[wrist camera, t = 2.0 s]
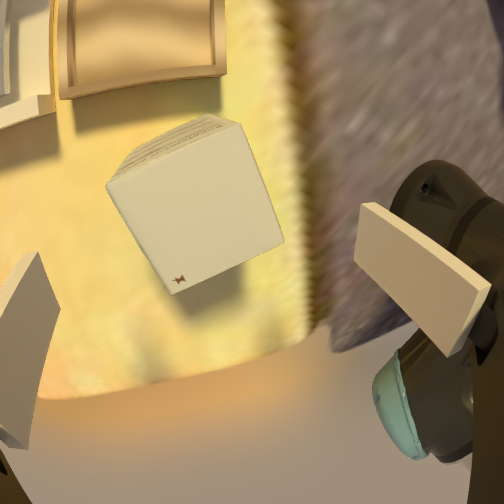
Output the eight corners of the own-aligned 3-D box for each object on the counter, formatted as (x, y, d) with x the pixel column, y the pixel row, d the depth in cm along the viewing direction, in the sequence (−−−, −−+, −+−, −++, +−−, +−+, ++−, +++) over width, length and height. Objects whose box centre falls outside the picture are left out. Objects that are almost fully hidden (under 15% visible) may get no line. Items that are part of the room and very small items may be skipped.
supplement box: (239, 184, 28) (289, 246, 17) (165, 218, 28) (168, 301, 17) (209, 110, 24) (244, 119, 13) (129, 146, 24) (99, 187, 13)
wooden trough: (219, 76, 23) (226, 73, 20) (71, 99, 20) (59, 100, 17) (216, -47, 17) (223, -62, 14) (72, -27, 14) (63, -39, 11)
